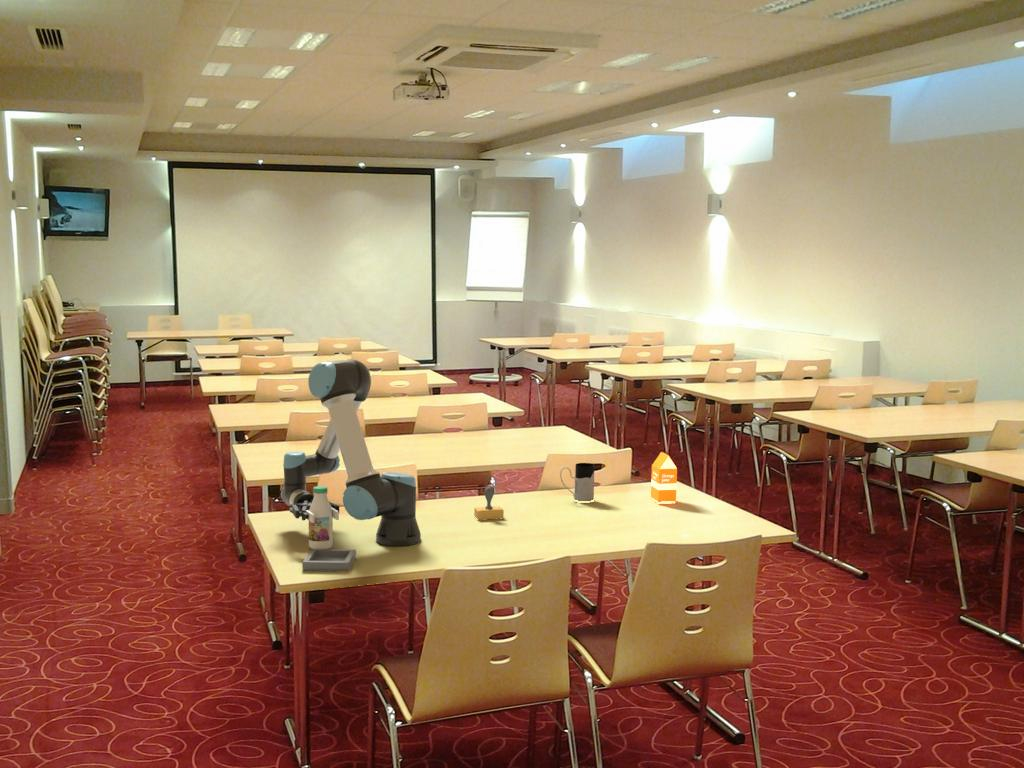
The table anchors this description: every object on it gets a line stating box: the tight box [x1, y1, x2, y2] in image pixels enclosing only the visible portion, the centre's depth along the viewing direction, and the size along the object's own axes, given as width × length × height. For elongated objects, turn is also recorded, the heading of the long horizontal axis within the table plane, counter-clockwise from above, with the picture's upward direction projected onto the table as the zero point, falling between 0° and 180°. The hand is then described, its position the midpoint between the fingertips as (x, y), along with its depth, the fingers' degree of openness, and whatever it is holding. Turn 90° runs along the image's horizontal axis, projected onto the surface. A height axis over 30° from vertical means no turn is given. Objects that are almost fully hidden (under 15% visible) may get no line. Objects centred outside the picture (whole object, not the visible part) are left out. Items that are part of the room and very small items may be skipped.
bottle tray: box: [301, 548, 357, 572], centre depth 297 cm, size 14×14×3 cm
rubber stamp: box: [473, 486, 505, 521], centre depth 356 cm, size 10×6×12 cm, turn 106°
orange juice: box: [650, 451, 678, 502], centre depth 386 cm, size 8×9×20 cm
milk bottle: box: [308, 485, 334, 550], centre depth 312 cm, size 8×8×20 cm
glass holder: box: [559, 462, 595, 501], centre depth 385 cm, size 9×14×15 cm, turn 91°
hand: (325, 517), depth 308 cm, fingers closed on milk bottle, 7 cm apart
